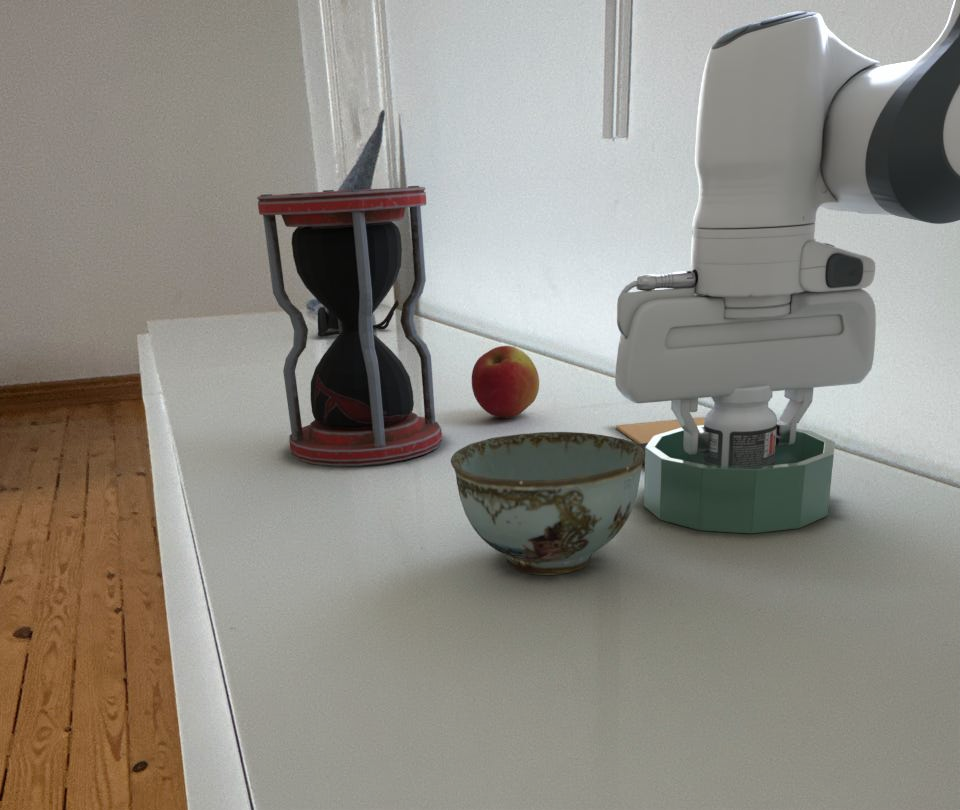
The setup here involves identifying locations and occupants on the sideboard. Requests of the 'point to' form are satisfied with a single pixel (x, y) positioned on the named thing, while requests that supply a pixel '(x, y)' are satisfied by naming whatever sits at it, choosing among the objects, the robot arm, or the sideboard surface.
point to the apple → (505, 381)
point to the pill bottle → (741, 429)
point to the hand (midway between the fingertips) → (738, 448)
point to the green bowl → (739, 486)
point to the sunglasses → (331, 322)
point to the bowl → (548, 495)
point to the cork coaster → (651, 429)
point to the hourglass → (353, 324)
